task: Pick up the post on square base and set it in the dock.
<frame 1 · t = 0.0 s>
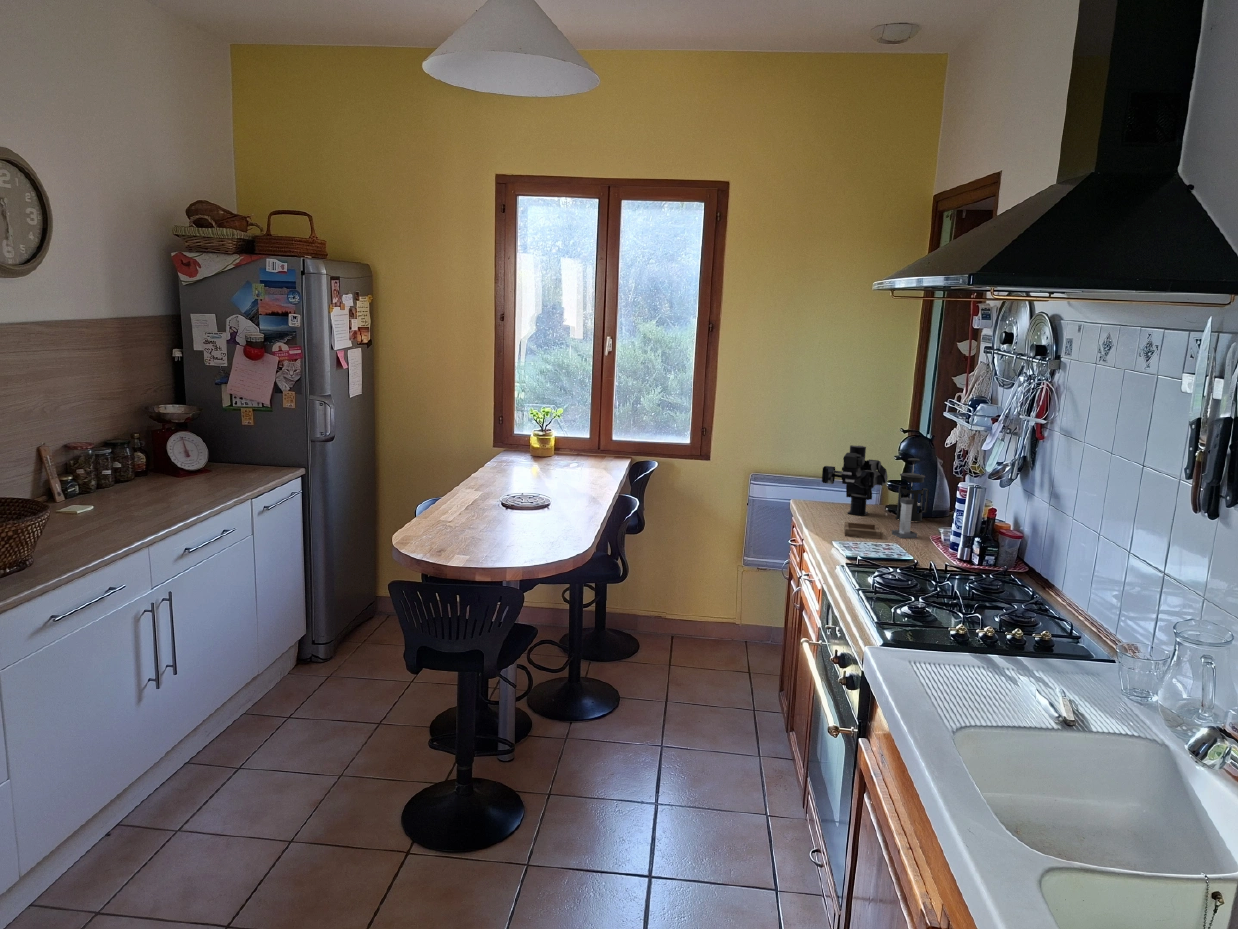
hand: (841, 480, 307), 17 cm above the table, tool horizontal, fingers open, 9 cm apart
post on square base: (904, 536, 298), on the table
french press: (910, 520, 324), on the table
dock: (861, 533, 299), on the table
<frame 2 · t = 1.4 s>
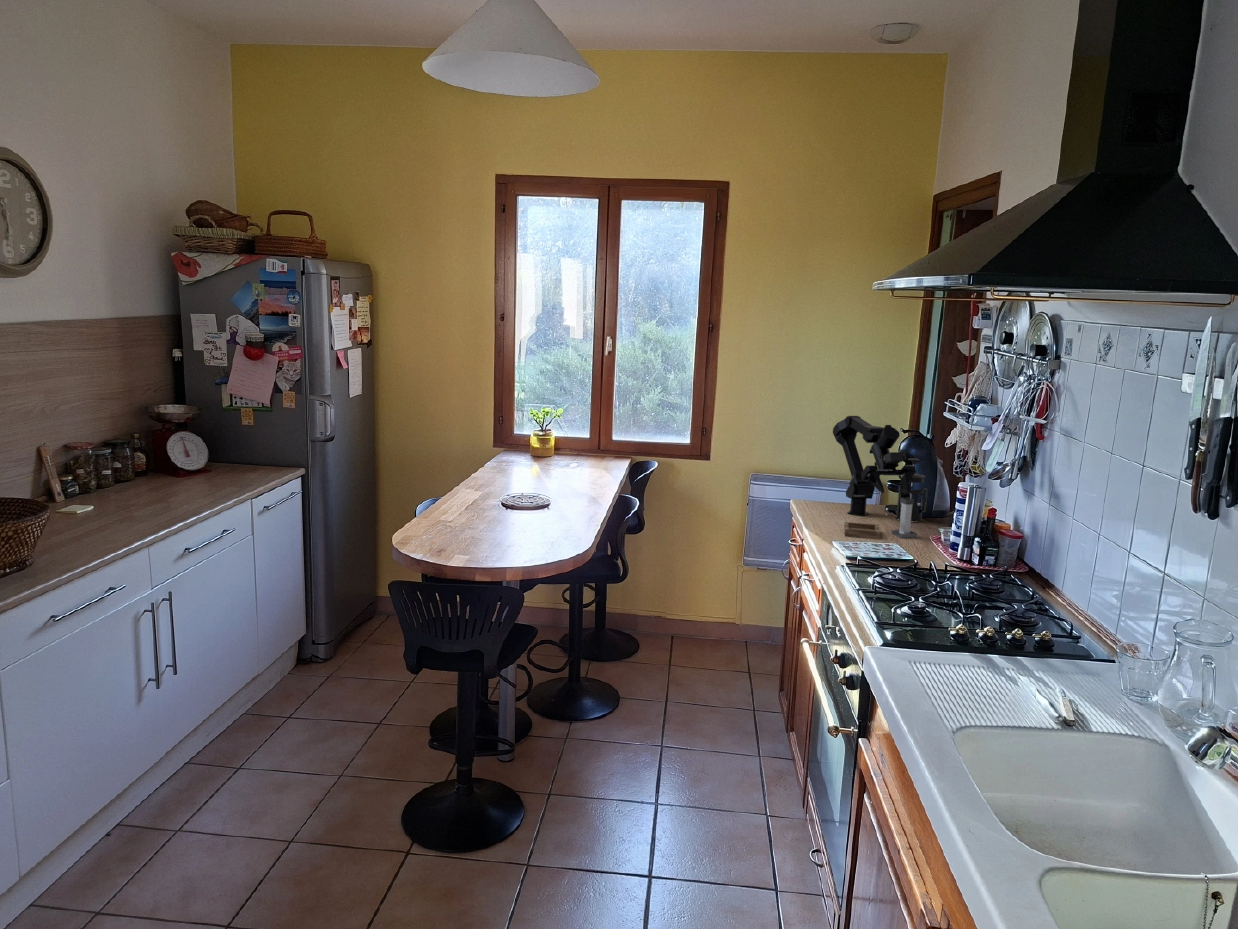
hand: (895, 492, 303), 14 cm above the table, tool tilted 45°, fingers open, 9 cm apart
nothing on the table moved.
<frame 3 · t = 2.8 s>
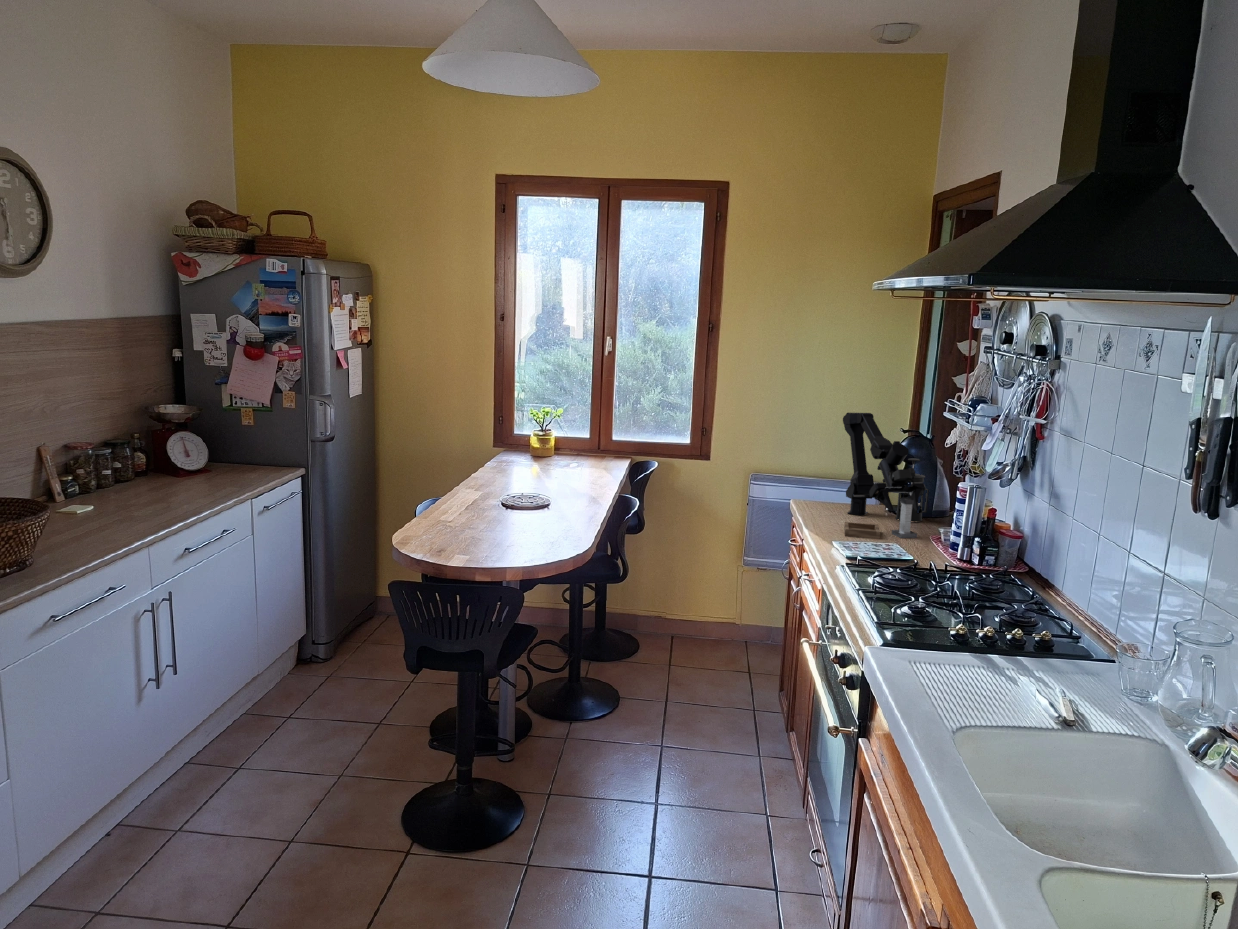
hand: (904, 510, 297), 9 cm above the table, tool tilted 45°, fingers open, 9 cm apart
nothing on the table moved.
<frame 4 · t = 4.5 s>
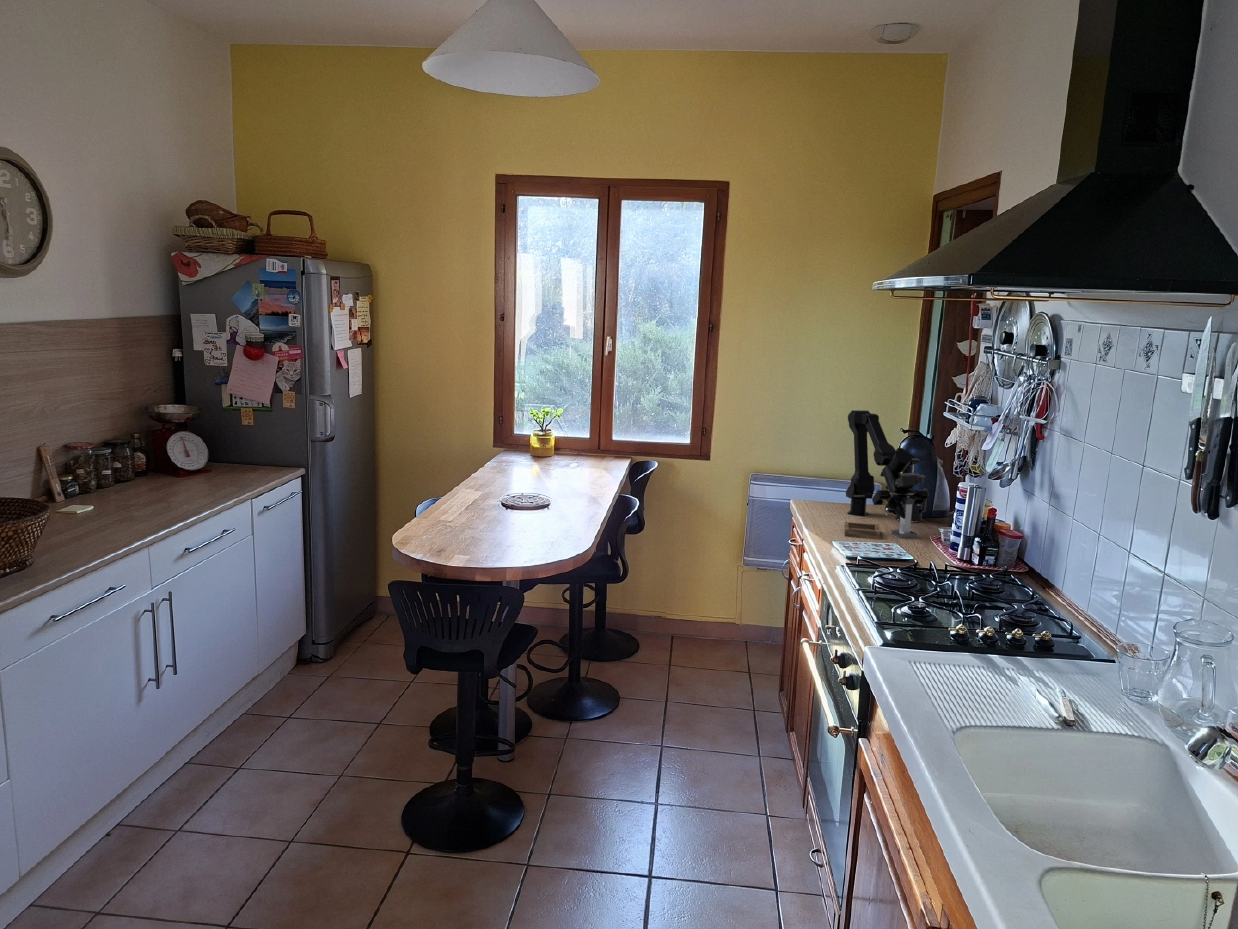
hand: (907, 518, 295), 7 cm above the table, tool tilted 45°, fingers closed on post on square base, 2 cm apart
post on square base: (904, 535, 298), on the table, touching gripper
everything else where it was.
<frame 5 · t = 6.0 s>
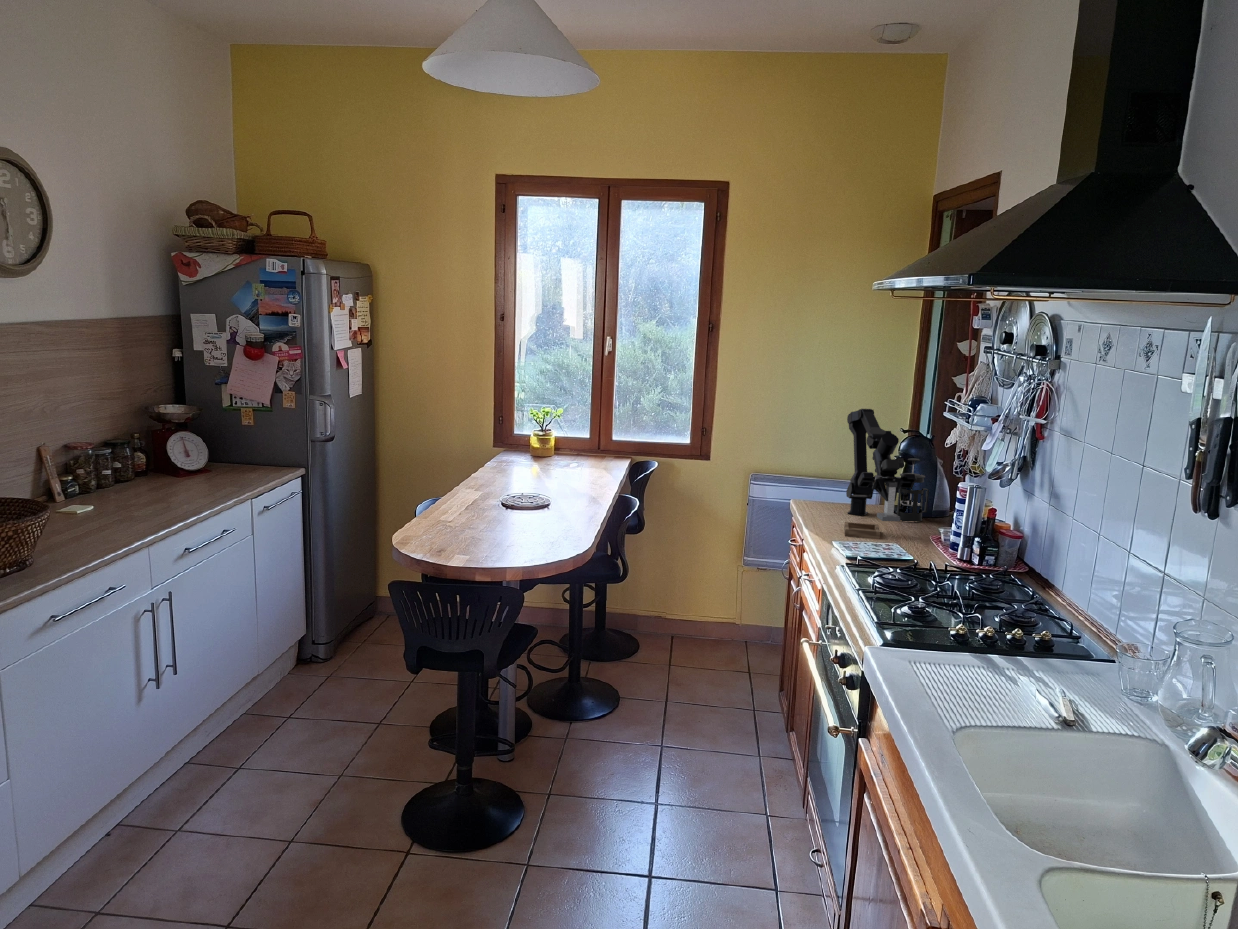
hand: (891, 500, 294), 12 cm above the table, tool tilted 45°, fingers closed on post on square base, 2 cm apart
post on square base: (888, 519, 297), point 6 cm above the table, touching gripper
everything else where it was.
when the fingers open (9 cm above the table, at t = 7.8 s): post on square base drops 1 cm, resting on dock.
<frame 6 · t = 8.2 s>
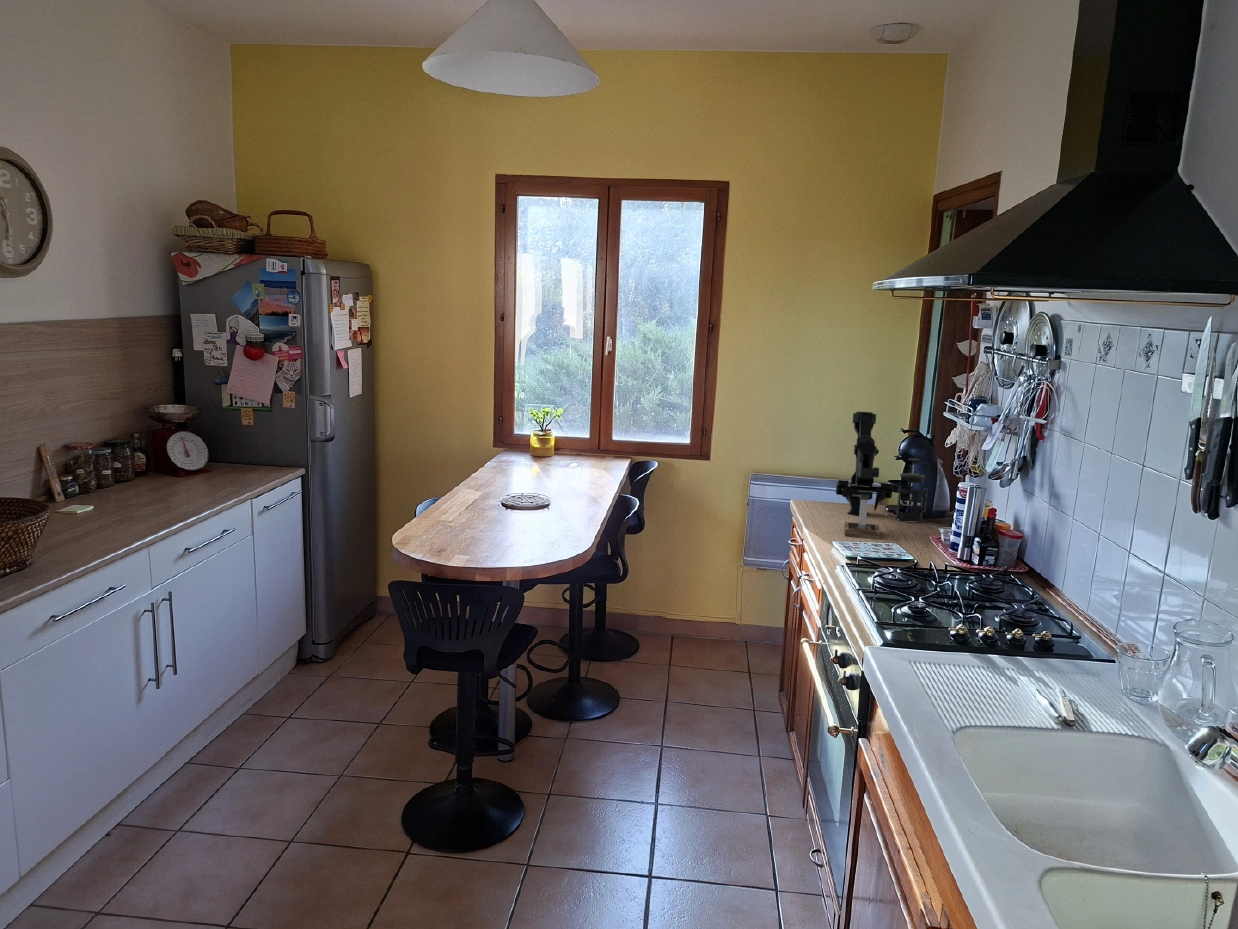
hand: (863, 509, 296), 9 cm above the table, tool tilted 45°, fingers open, 7 cm apart
post on square base: (861, 531, 299), point 1 cm above the table, touching dock
everything else where it was.
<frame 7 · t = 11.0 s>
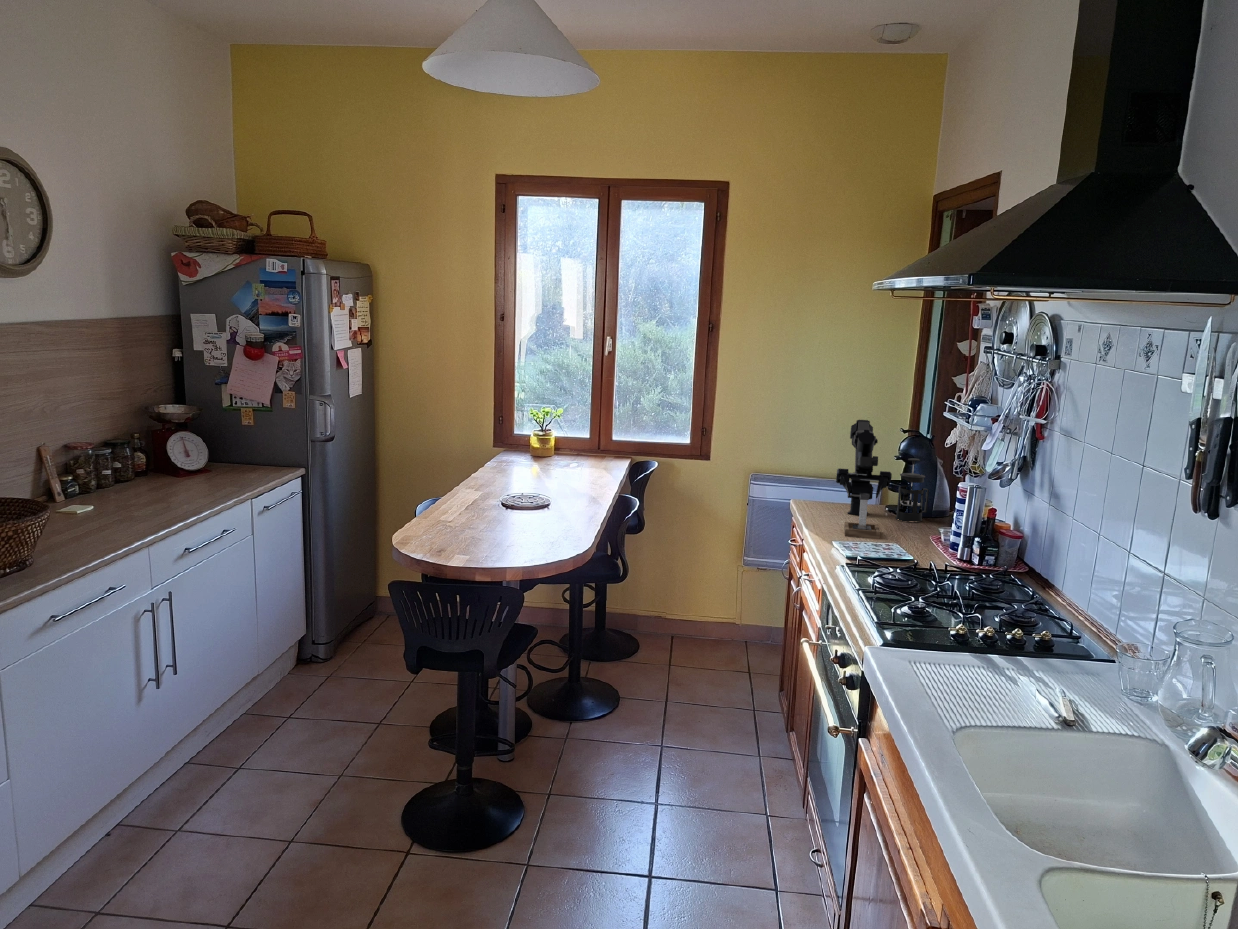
hand: (863, 496, 305), 11 cm above the table, tool tilted 45°, fingers open, 9 cm apart
nothing on the table moved.
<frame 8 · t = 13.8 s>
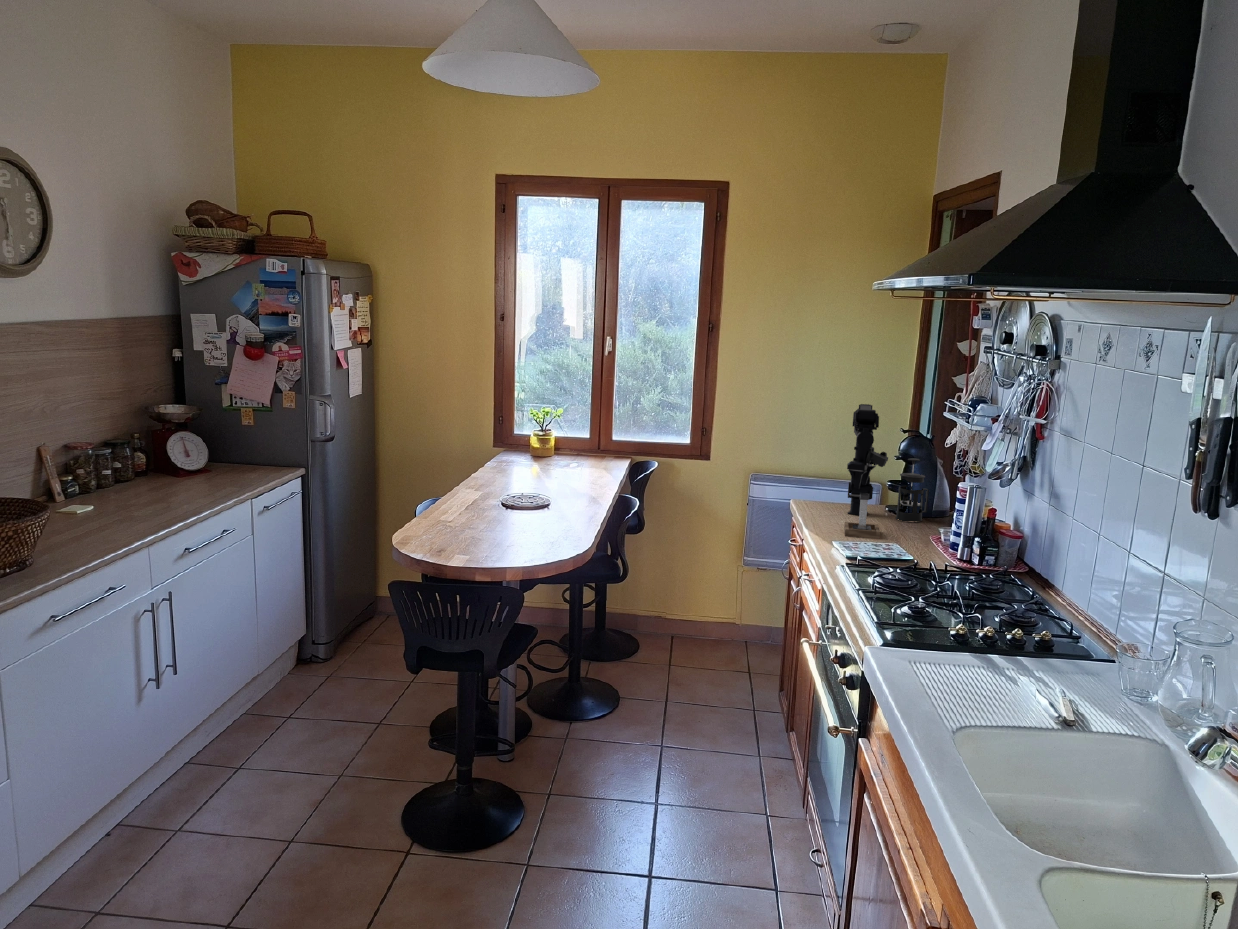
hand: (860, 486, 315), 13 cm above the table, tool pointing down, fingers open, 9 cm apart
nothing on the table moved.
at the end: post on square base 0.0 cm off-centre on the dock, point 0.8 cm above the dock's base; post on square base tilted 0°; the gripper is holding nothing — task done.
